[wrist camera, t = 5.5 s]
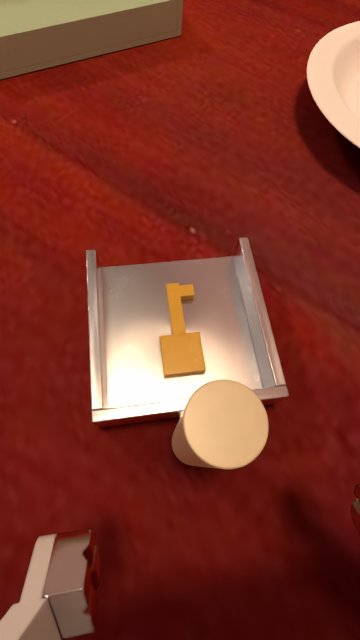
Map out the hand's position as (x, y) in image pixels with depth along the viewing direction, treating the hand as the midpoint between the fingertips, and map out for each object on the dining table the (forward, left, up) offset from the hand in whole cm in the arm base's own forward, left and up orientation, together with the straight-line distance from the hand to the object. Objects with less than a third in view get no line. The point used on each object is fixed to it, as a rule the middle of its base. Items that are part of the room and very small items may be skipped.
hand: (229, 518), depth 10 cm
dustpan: (+3, +7, -8) cm, 11 cm away
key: (+3, +9, -7) cm, 12 cm away
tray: (+9, +43, -8) cm, 45 cm away
